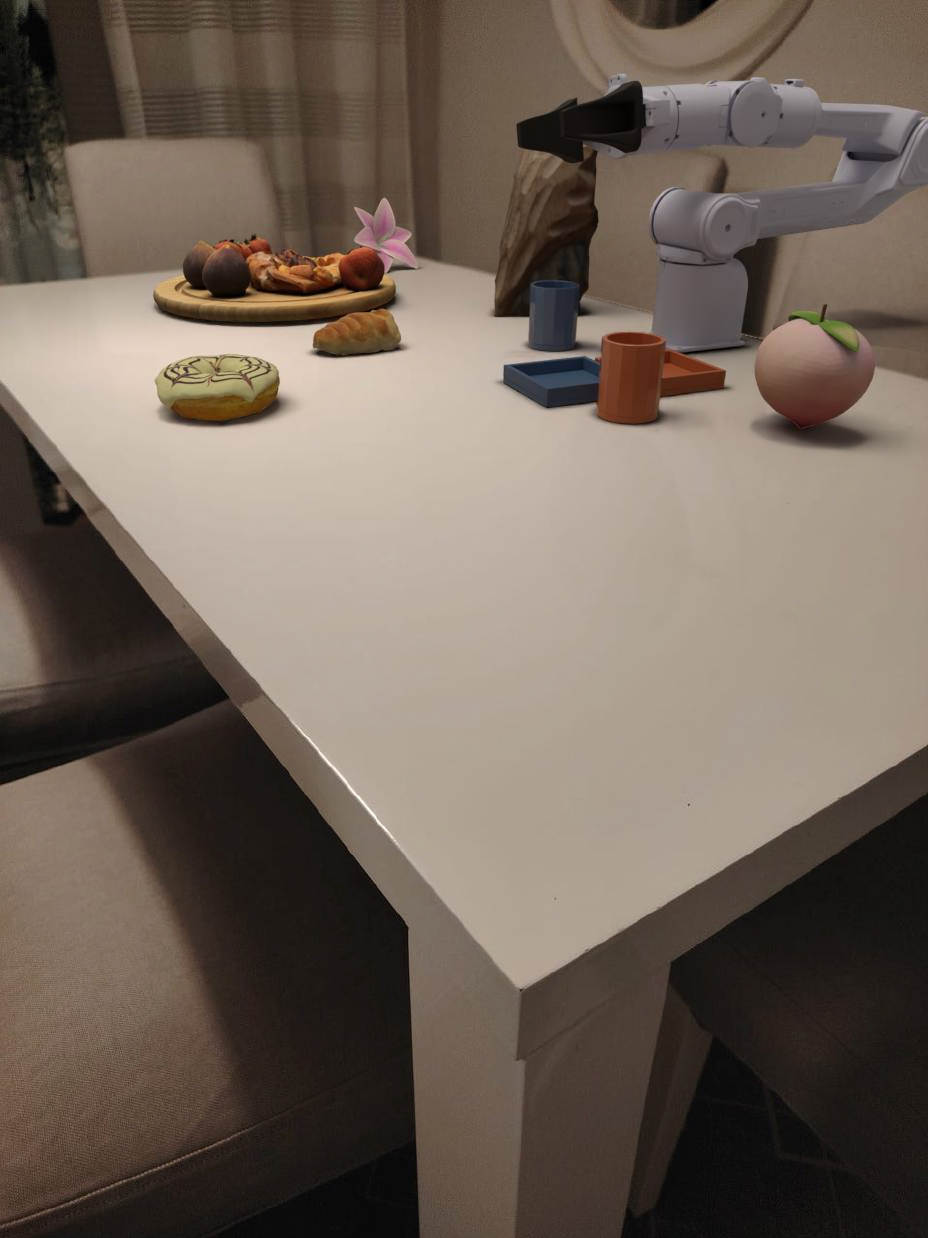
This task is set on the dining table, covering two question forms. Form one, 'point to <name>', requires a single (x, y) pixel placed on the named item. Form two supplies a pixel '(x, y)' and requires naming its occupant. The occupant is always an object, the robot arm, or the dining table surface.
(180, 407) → the decorated donut
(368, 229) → the lily
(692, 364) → the terracotta dish
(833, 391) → the decorative fruit
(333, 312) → the wooden plate
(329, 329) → the pastry
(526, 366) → the blue dish
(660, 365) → the terracotta cup
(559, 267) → the brown rock
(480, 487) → the dining table surface
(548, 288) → the blue cup
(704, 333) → the robot arm
